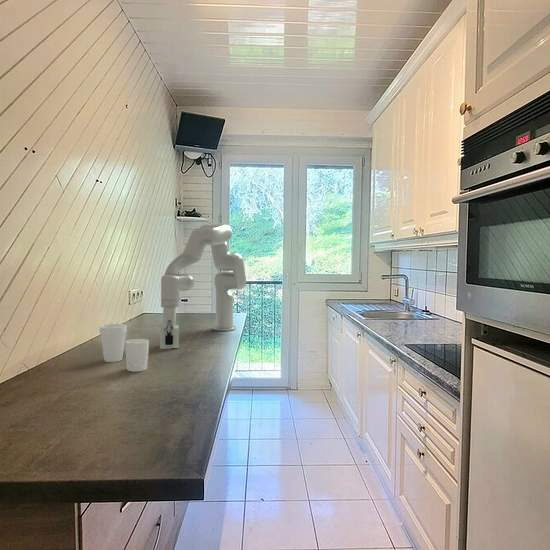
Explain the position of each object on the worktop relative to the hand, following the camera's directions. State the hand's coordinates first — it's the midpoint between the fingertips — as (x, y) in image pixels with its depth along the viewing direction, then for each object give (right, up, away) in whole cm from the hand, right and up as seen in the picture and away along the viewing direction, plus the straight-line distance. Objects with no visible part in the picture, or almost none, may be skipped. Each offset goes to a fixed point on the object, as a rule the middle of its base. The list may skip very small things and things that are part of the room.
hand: (169, 342), depth 172 cm
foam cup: (-15, -3, -23) cm, 28 cm away
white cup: (-2, -4, -34) cm, 35 cm away
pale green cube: (0, -2, 0) cm, 2 cm away
